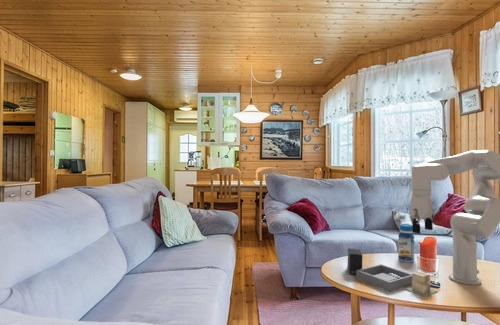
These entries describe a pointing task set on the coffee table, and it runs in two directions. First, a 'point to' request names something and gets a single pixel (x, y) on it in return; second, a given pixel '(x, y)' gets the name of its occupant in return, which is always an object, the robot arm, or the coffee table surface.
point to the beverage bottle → (406, 243)
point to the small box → (354, 261)
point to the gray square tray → (384, 277)
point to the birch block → (421, 281)
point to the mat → (421, 292)
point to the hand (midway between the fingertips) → (422, 231)
